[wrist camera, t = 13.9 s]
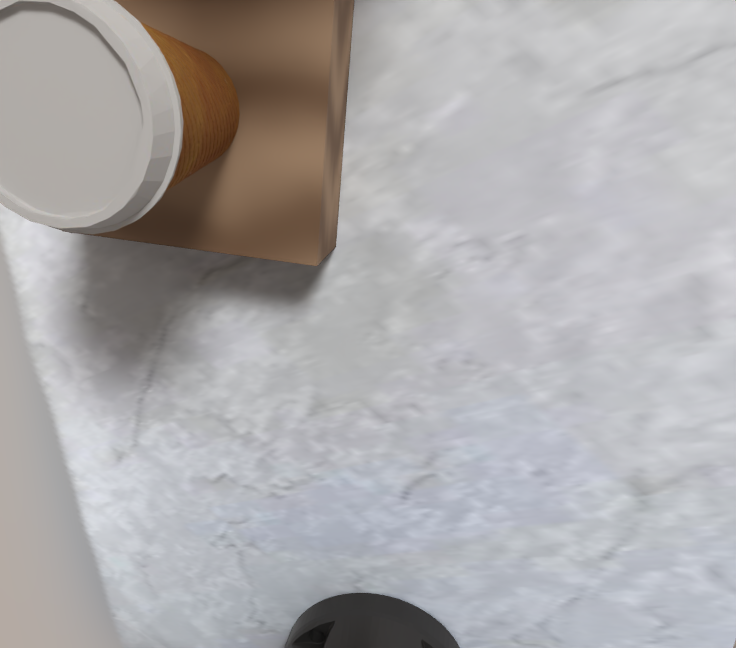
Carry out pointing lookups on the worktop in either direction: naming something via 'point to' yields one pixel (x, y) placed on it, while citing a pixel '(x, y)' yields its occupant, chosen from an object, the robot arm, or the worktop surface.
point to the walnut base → (261, 129)
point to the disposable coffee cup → (102, 113)
